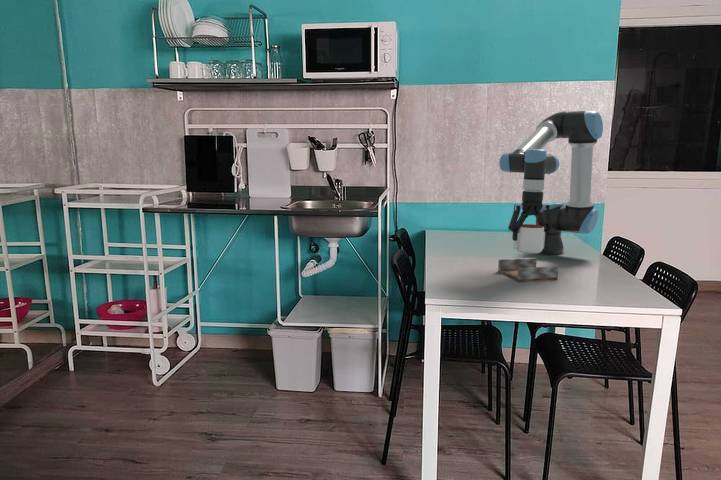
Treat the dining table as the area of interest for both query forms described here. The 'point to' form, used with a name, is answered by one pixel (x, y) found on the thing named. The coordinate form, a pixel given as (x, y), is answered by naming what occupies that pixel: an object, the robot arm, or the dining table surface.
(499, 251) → the dining table surface
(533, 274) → the cradle
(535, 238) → the cup
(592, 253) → the dining table surface
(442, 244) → the dining table surface
